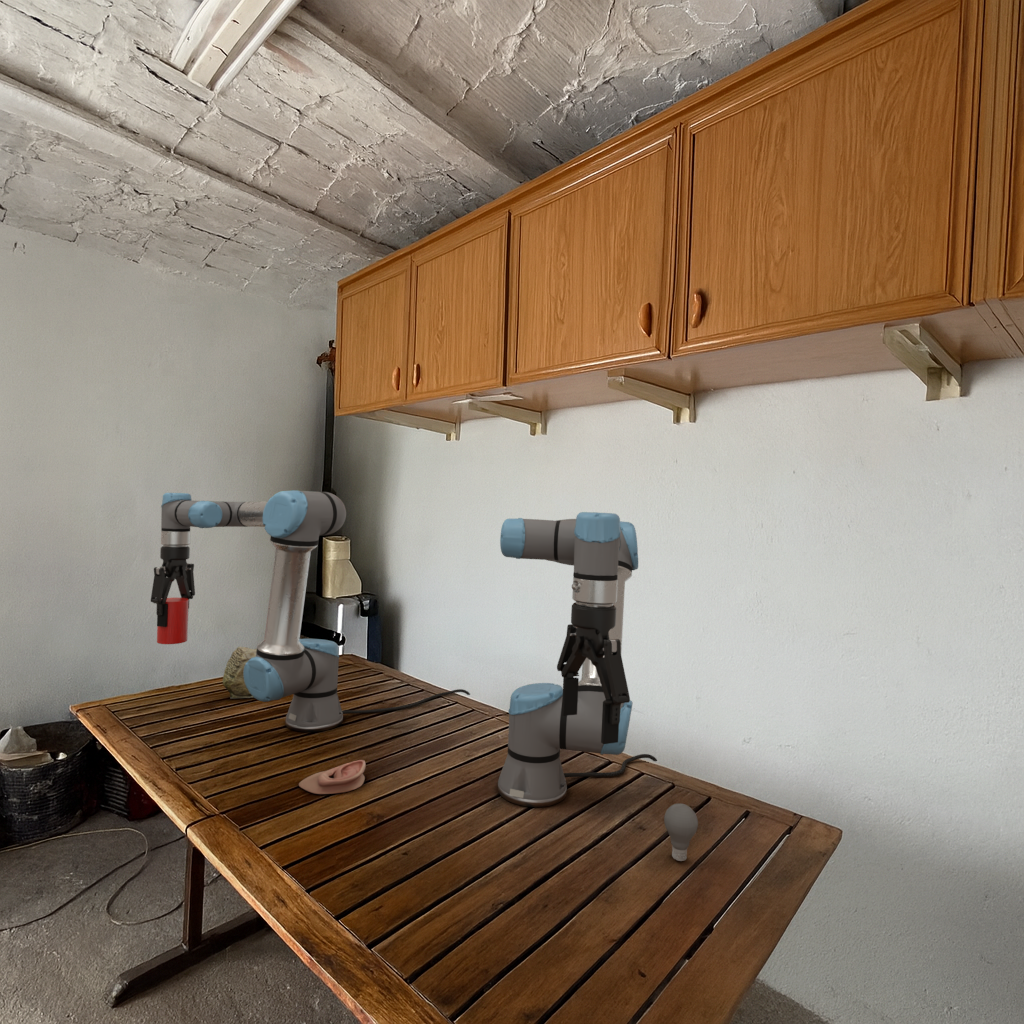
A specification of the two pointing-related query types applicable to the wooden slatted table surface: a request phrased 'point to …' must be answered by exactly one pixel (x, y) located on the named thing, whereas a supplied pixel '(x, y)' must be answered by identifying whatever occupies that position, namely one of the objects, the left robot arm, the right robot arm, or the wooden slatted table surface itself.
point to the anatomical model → (336, 779)
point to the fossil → (237, 672)
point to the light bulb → (680, 828)
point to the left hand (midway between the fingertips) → (172, 623)
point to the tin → (175, 622)
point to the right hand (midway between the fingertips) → (588, 727)
